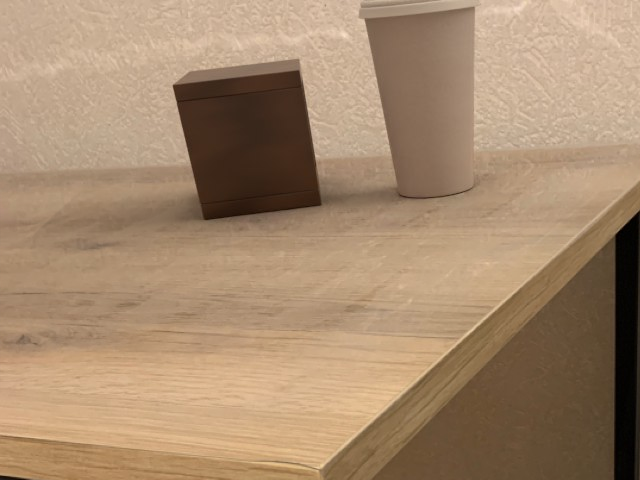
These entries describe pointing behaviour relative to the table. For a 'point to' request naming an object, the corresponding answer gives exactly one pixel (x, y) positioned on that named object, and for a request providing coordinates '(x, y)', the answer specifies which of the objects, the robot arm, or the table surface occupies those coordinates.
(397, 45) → the coffee cup
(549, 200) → the table surface
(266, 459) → the table surface
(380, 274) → the table surface
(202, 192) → the wooden lidded box
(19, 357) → the table surface
